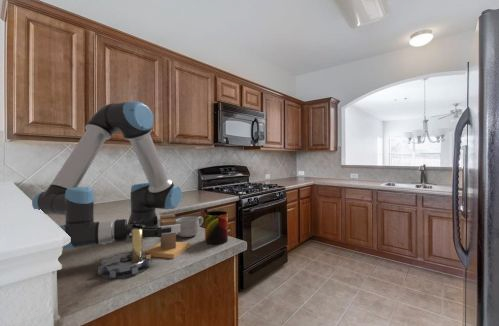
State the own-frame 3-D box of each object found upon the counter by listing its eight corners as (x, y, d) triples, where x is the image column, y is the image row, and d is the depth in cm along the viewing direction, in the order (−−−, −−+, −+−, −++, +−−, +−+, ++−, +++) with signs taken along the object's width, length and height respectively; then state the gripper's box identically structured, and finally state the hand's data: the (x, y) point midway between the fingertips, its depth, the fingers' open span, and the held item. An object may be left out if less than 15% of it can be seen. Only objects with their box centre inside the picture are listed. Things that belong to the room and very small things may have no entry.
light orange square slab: (163, 244, 97) (163, 240, 97) (190, 246, 94) (190, 242, 94) (144, 255, 85) (144, 251, 85) (173, 258, 83) (173, 254, 83)
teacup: (180, 241, 101) (179, 222, 101) (172, 234, 110) (171, 217, 110) (209, 235, 109) (209, 217, 109) (199, 229, 118) (199, 213, 118)
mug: (223, 233, 111) (223, 208, 111) (229, 243, 98) (229, 214, 98) (203, 235, 108) (202, 209, 108) (206, 246, 95) (206, 216, 95)
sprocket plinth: (124, 257, 84) (124, 256, 84) (159, 260, 81) (159, 259, 81) (87, 276, 70) (87, 275, 70) (128, 281, 67) (128, 280, 67)
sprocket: (92, 266, 75) (92, 229, 75) (141, 253, 86) (140, 220, 86) (106, 283, 65) (105, 240, 65) (159, 265, 76) (159, 228, 76)
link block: (160, 245, 91) (160, 215, 91) (174, 243, 93) (173, 213, 93) (161, 250, 86) (161, 217, 86) (176, 248, 89) (175, 216, 89)
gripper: (116, 232, 93) (172, 225, 102) (111, 254, 71) (183, 243, 80) (116, 213, 93) (172, 208, 102) (111, 229, 71) (183, 221, 80)
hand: (177, 223), depth 91 cm, fingers open, 13 cm apart
